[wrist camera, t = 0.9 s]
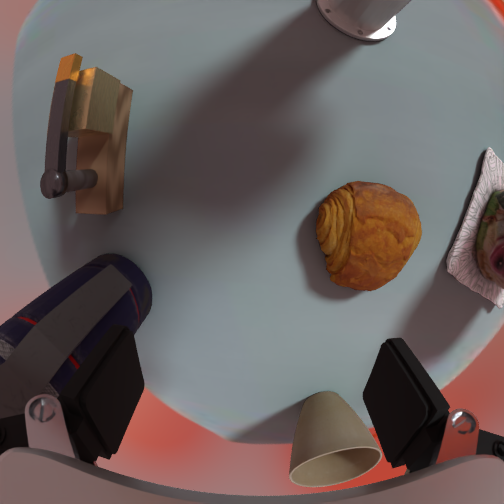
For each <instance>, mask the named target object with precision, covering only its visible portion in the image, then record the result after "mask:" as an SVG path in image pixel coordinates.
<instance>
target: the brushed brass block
mask: <svg viewBox="0 0 504 504" xmlns="http://www.w3.org/2000/svg"><path fill="white" fill-rule="evenodd" d="M55 84H56V83H55ZM119 86H120V80H118V79H117V78H115V77H113V76H112V75H110V74H108V73H106V72H105V71H103V70H101V69H99V68H97V67H94V68H90V69H86V70H82V71H79V74H78V79H77V82H76V86H75V91H74V96H73V102H72V108H71V115H70V122H69V130H68V137H75V138H76V137H84V136H93V135H104V134H113V127H114V118H115V111H116V104H117V98H118V92H119ZM54 88H55V87H54ZM53 93H54V92H53ZM52 99H53V97H52ZM51 104H52V103H51ZM50 110H51V109H50ZM49 117H50V116H49ZM48 124H49V123H48ZM47 133H48V131H47Z"/></svg>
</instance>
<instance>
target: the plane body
mask: <svg viewBox="0 0 504 504" xmlns="http://www.w3.org/2000/svg"><path fill="white" fill-rule="evenodd" d="M132 93H133V90H131V89H130V88H128V87H126V86H125V85H123V84H121V83H120V86H119V92H118V98H117V104H116V111H115V118H114V127H113V134H104V135H93V136H84V137H79V138H78V149H77V165H76V170H69V171H65V172H66V173H67V176H68V188H67V191H66V192H71V191H76V213H85V214H105V215H106V214H109V213H112V212H114V211H117V210H120V209H123V187H124V166H125V152H126V140H127V130H128V122H129V114H130V107H131V100H132ZM66 192H65V193H66Z"/></svg>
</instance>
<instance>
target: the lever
mask: <svg viewBox="0 0 504 504" xmlns="http://www.w3.org/2000/svg"><path fill="white" fill-rule="evenodd" d="M82 58H83V57H81V56H79V55H78V54H76V53H75V54H72V55H69V56H66V57H63V58H61V61H60V64H59V68H58V72H57V76H56V81H55V83H56V84H55V88H54V93H53V99H52V104H51V110H50V117H49V124H48V133H47V143H46V156H45V172H44V174H43V175H42V178H41V182H40V187H41V192H42V194H43V195H44V196H45V197H46V198H48V199H51V198H56V197H60V196H62V195H64V194H65V192H66V191H67V188H68V176H67V173H66V172H65V169H66V152H67V140H68V130H69V122H70V115H71V108H72V102H73V96H74V91H75V86H76V82H77V79H78V74H79V70H80V66H81V62H82Z"/></svg>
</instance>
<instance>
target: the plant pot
mask: <svg viewBox="0 0 504 504" xmlns="http://www.w3.org/2000/svg"><path fill="white" fill-rule="evenodd" d="M381 457H382V452H381V450H380V449H379V447H378V445H377V443H376V441H375V440H374V438H373V436H372V435H371V433H370V431H369V430H368V428H367V427H366V425H365V424H364V423H363V421H362V420H361V419H360V417H359V416H358V415H357V414H356V413H355V411H354V410H353V409H352V408H351V407H350V406H349V405H348V404H347V403H346V401H345V400H343V399H342V398H341V397H340V396H339V395H338V394H337V393H335V392H330V391H324V392H319V393H316V394H314V395H312V396H310V397H309V398H308V399H307V400H306V401H305V402H304V404H303V407H302V410H301V413H300V416H299V420H298V423H297V427H296V431H295V436H294V441H293V447H292V453H291V461H290V471H289V478H290V480H291V481H292V482H293V483H295V484H297V485H300V486H305V487H323V486H330V485H335V484H339V483H343V482H346V481H349V480H351V479H354V478H356V477H359V476H361V475H363V474H364V473H366V472H368V471H369V470H371V469H372V468H373V467H375V466H376V465H377V464H378V462H379V461H380V460H381Z"/></svg>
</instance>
